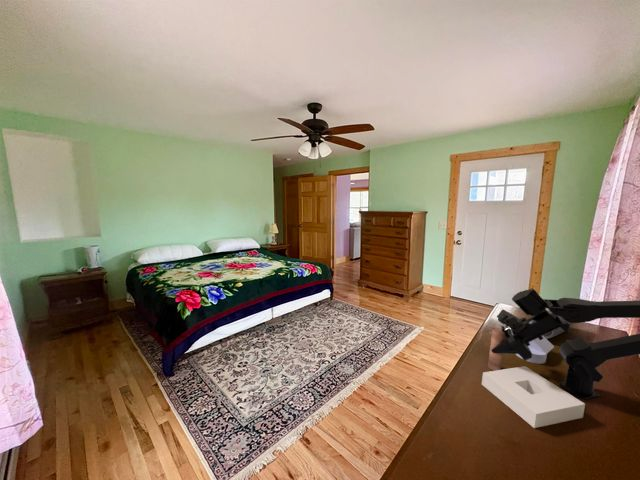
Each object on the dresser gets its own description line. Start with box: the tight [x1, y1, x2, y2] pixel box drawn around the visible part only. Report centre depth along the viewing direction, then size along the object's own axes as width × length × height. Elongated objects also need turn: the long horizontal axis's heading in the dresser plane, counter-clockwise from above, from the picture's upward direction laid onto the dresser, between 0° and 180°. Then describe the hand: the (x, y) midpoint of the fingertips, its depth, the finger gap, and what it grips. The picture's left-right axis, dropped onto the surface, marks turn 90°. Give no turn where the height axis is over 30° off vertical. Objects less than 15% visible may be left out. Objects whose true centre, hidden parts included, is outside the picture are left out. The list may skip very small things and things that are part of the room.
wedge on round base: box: [515, 336, 555, 365], centre depth 96 cm, size 9×7×13 cm
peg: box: [487, 329, 505, 371], centre depth 87 cm, size 4×4×13 cm
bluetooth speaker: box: [543, 309, 574, 340], centre depth 111 cm, size 23×9×10 cm, turn 120°
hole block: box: [481, 365, 586, 429], centre depth 73 cm, size 16×16×4 cm
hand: (491, 348), depth 88 cm, fingers closed on peg, 4 cm apart
